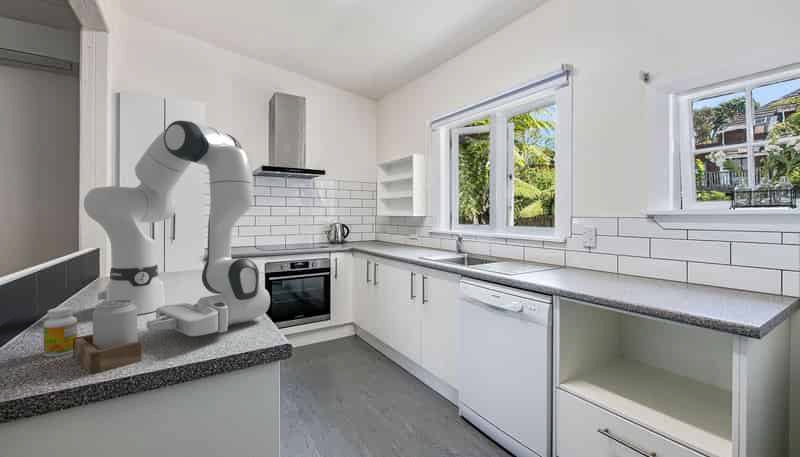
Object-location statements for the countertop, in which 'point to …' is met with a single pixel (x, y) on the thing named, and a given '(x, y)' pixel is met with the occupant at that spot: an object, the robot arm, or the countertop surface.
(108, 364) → the corral
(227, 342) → the countertop surface
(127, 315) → the can
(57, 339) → the supplement bottle
